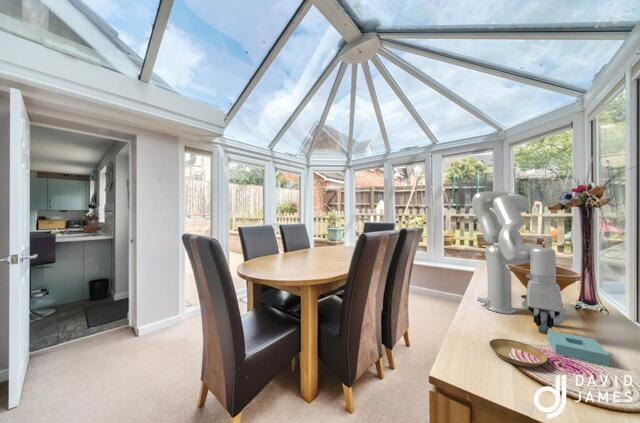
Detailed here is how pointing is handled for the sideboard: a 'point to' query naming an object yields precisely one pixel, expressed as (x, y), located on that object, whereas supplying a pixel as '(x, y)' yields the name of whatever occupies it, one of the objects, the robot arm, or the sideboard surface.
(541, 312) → the steel pin
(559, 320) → the donut
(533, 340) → the sideboard surface
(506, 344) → the plant saucer
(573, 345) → the slot block
